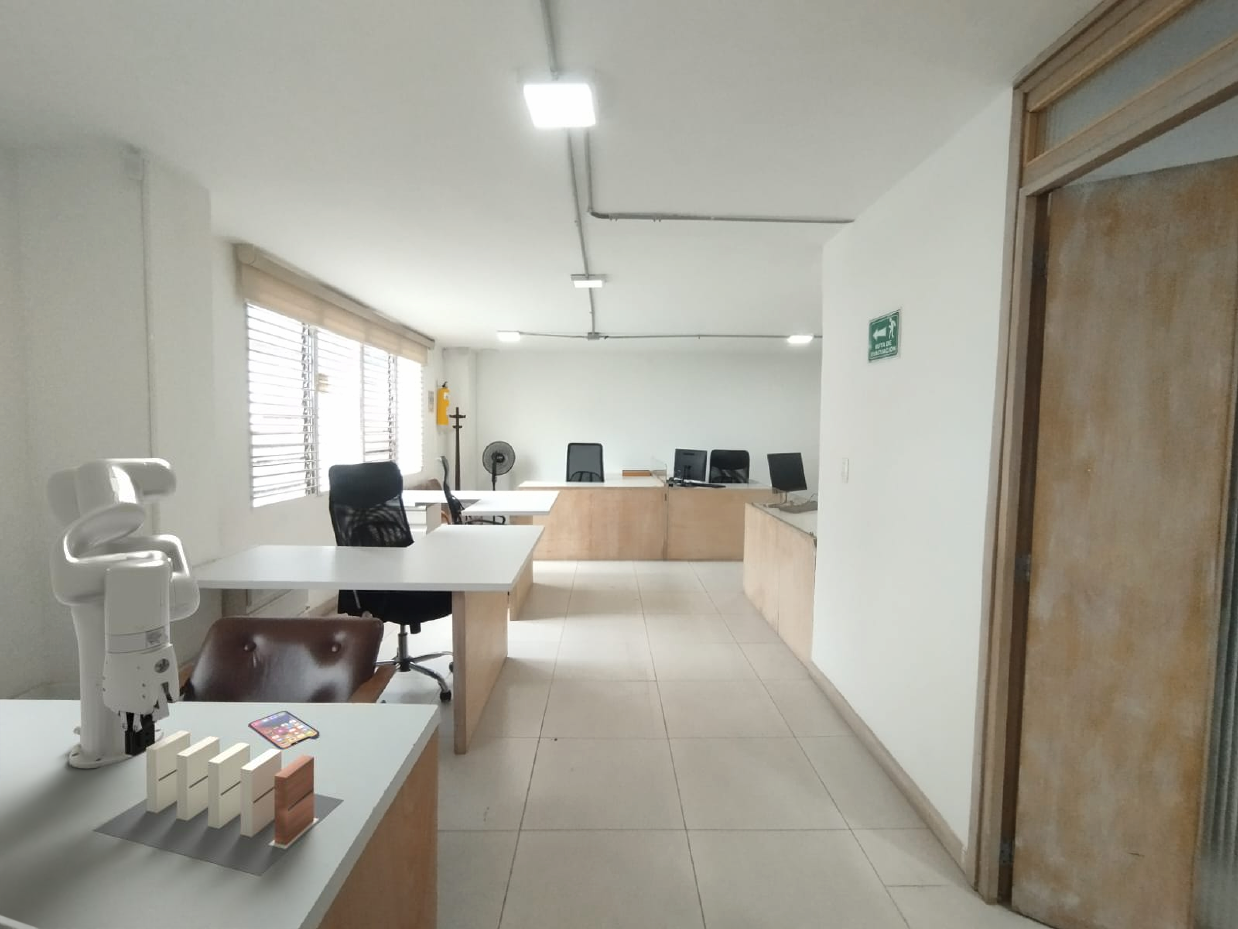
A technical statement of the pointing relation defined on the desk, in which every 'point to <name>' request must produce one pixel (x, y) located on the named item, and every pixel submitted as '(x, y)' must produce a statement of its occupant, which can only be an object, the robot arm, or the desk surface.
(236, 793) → the domino
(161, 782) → the domino
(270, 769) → the domino
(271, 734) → the smartphone
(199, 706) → the desk surface
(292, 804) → the domino
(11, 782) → the desk surface
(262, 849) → the domino mat
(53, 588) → the robot arm
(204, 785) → the domino
